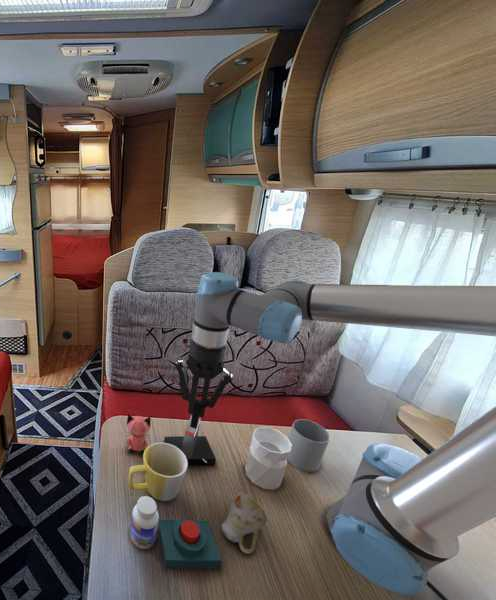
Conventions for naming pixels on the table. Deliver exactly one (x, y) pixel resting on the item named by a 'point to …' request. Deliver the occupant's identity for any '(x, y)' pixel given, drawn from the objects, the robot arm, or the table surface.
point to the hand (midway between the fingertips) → (194, 424)
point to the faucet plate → (195, 450)
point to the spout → (190, 439)
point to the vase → (267, 457)
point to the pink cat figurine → (137, 433)
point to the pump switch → (188, 545)
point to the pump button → (189, 532)
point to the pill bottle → (144, 522)
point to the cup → (307, 444)
